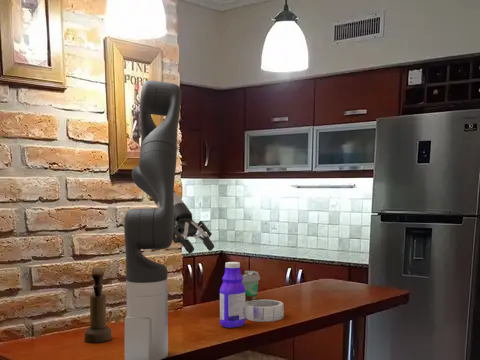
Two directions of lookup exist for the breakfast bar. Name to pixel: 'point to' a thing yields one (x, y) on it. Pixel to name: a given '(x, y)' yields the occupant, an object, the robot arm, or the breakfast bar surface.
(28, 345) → the breakfast bar surface
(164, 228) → the robot arm
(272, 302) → the ring holder
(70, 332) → the breakfast bar surface
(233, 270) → the bottle
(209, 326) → the breakfast bar surface
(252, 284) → the food container
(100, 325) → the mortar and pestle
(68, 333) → the breakfast bar surface
